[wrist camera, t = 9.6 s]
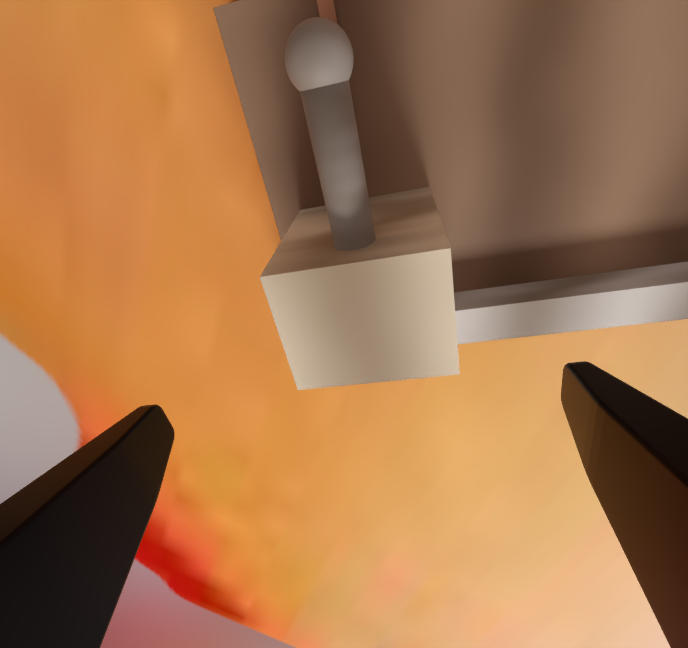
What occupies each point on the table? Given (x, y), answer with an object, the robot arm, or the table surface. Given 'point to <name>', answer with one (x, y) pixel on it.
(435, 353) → the ball-top joystick
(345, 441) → the table surface
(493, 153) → the board
